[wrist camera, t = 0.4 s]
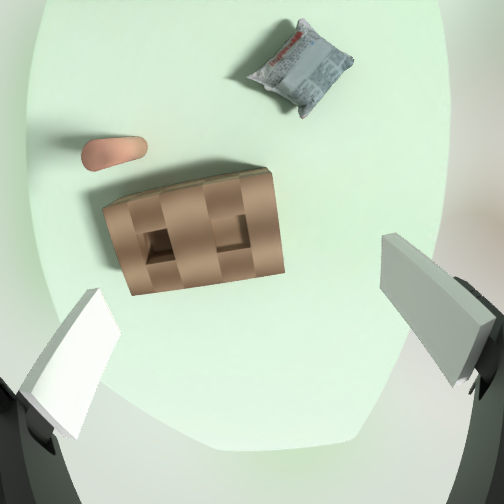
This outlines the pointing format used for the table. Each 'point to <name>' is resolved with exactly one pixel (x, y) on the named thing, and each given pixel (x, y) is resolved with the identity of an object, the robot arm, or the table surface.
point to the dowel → (112, 152)
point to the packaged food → (303, 68)
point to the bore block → (197, 232)
